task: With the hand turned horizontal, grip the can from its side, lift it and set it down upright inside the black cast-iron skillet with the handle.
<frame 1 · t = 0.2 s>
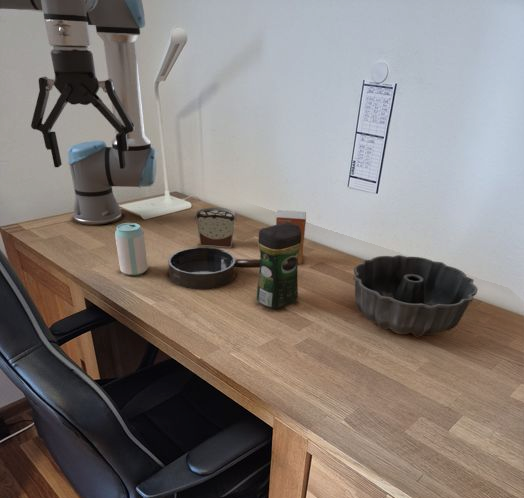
hand: (90, 166, 98), 28 cm above the table, tool pointing down, fingers open, 13 cm apart
can: (134, 271, 120), on the table
food container: (217, 243, 139), on the table
small box: (287, 259, 131), on the table
skillet: (202, 274, 120), on the table
bundt pan: (403, 317, 106), on the table
coffee jar: (276, 301, 110), on the table
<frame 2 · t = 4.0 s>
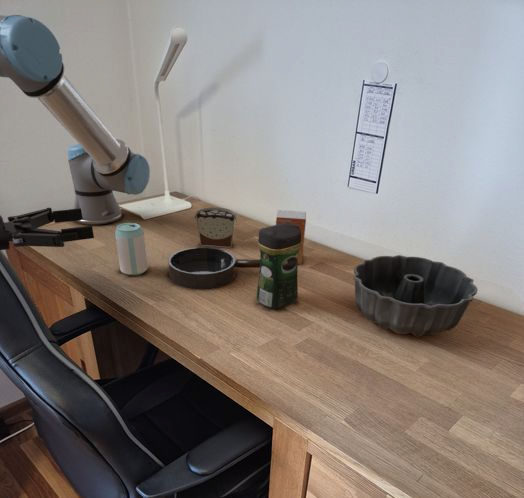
hand: (87, 222, 108), 14 cm above the table, tool horizontal, fingers open, 13 cm apart
nothing on the table moved.
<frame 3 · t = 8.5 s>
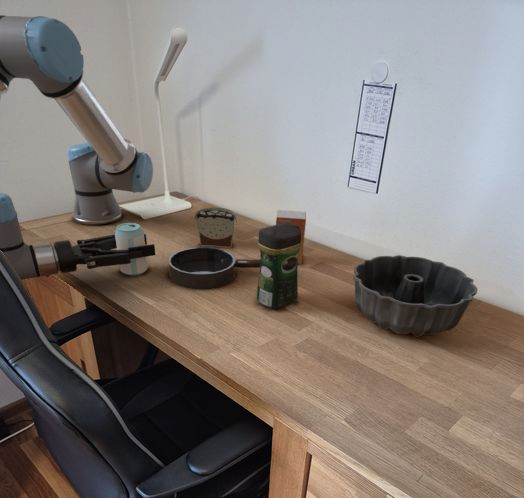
hand: (150, 244, 119), 7 cm above the table, tool horizontal, fingers closed on can, 7 cm apart
can: (134, 271, 120), on the table, touching gripper
everything else where it was.
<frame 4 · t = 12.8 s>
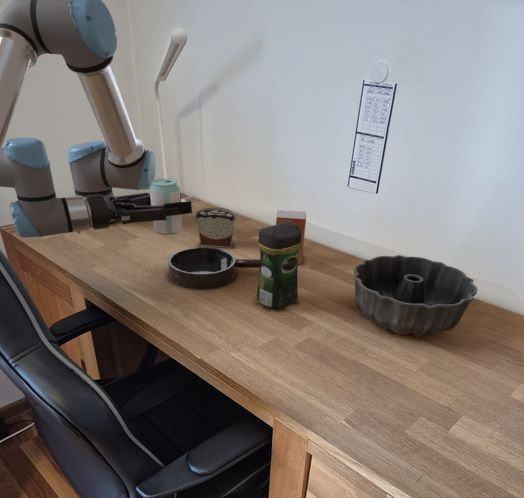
hand: (185, 202, 112), 18 cm above the table, tool horizontal, fingers closed on can, 7 cm apart
can: (168, 231, 114), point 11 cm above the table, touching gripper
everything else where it was.
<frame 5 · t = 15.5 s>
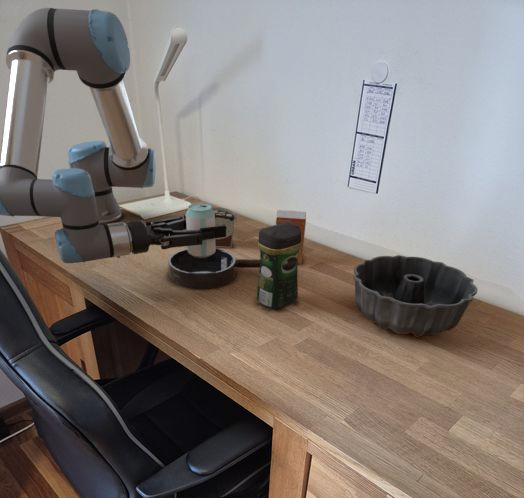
hand: (219, 226, 115), 12 cm above the table, tool horizontal, fingers closed on can, 7 cm apart
can: (201, 254, 117), point 6 cm above the table, touching gripper
everything else where it was.
when the fingers open (7 cm above the table, at t = 17.4 s): can stays where it is, resting on skillet.
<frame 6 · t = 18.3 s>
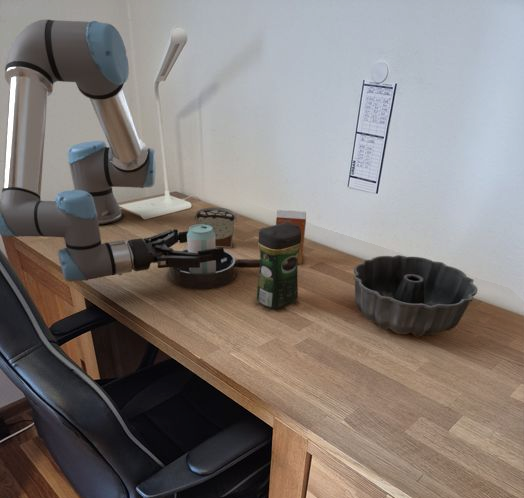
hand: (212, 243, 117), 8 cm above the table, tool horizontal, fingers open, 13 cm apart
can: (202, 273, 120), resting on skillet
everything else where it was.
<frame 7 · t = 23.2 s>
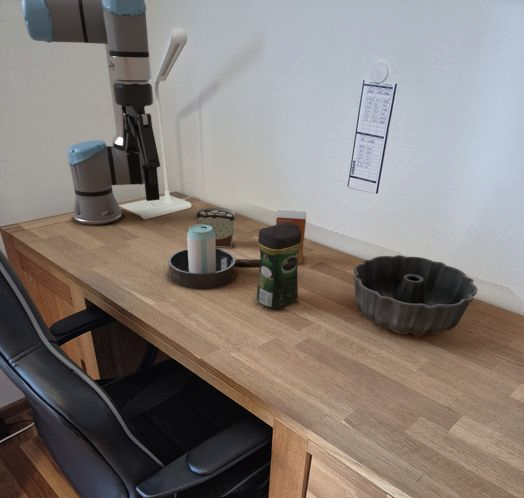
hand: (144, 191, 102), 23 cm above the table, tool pointing down, fingers open, 13 cm apart
nothing on the table moved.
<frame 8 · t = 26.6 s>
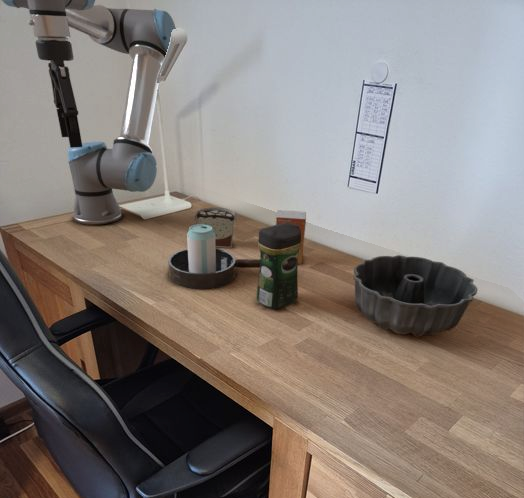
hand: (71, 141, 114), 29 cm above the table, tool pointing down, fingers open, 13 cm apart
nothing on the table moved.
at the end: can inside the target area in the skillet (0.1 cm from its centre), point 0.3 cm above the skillet's base; can tilted 0°; the gripper is holding nothing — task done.
